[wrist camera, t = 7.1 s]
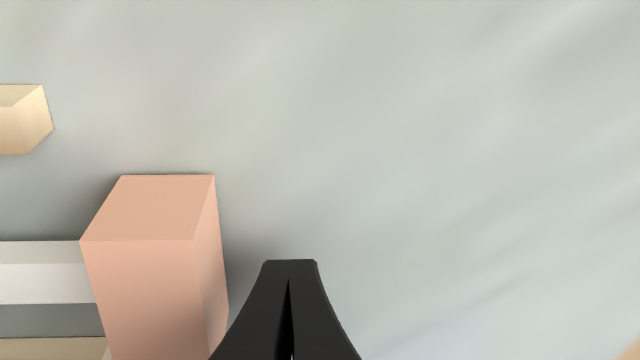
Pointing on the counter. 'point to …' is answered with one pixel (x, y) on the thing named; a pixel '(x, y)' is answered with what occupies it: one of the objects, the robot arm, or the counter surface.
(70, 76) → the counter surface
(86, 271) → the peach and white mallet
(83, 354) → the channel
